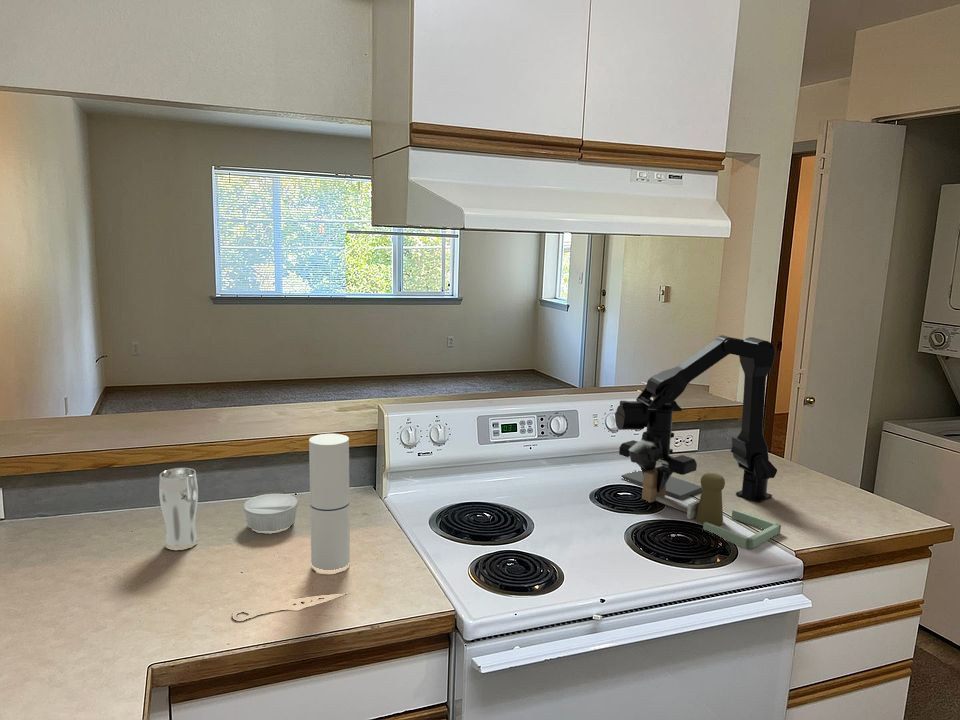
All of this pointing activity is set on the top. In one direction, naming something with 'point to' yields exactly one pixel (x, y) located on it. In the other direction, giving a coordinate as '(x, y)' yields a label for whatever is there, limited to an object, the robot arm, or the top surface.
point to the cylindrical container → (329, 501)
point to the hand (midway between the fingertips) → (654, 490)
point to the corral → (744, 541)
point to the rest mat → (668, 485)
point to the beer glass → (179, 505)
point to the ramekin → (270, 512)
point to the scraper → (652, 495)
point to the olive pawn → (711, 500)
